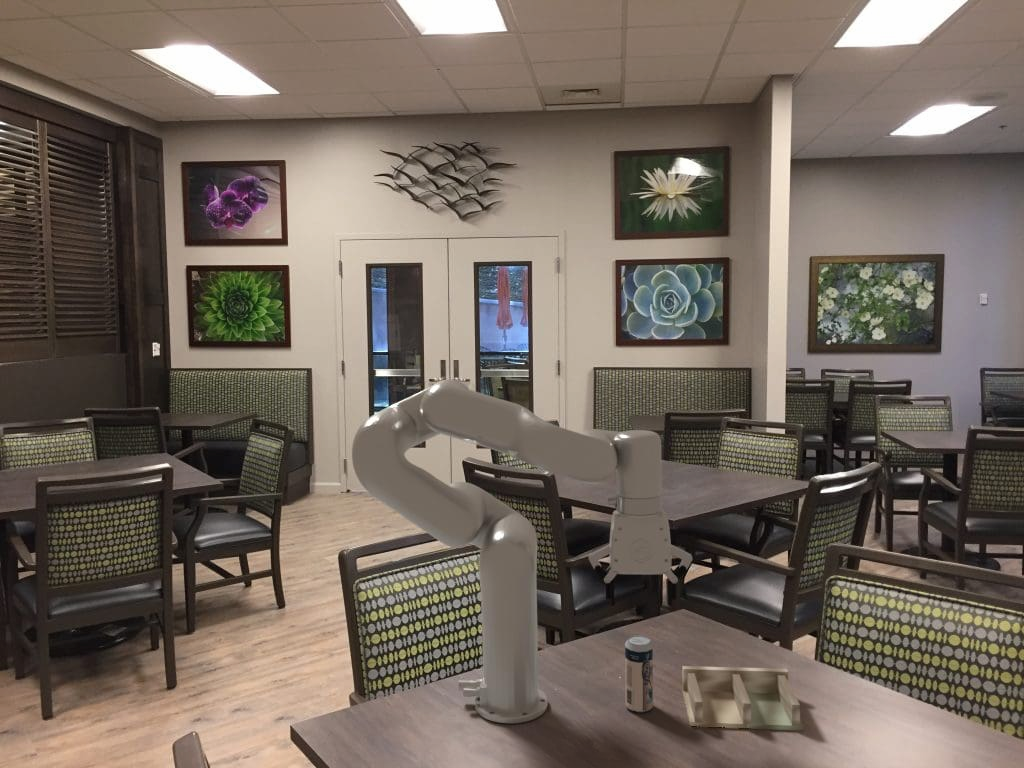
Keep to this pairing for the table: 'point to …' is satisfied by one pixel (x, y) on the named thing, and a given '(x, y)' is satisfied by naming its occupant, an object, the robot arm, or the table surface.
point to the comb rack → (740, 698)
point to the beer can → (639, 673)
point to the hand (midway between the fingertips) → (640, 603)
